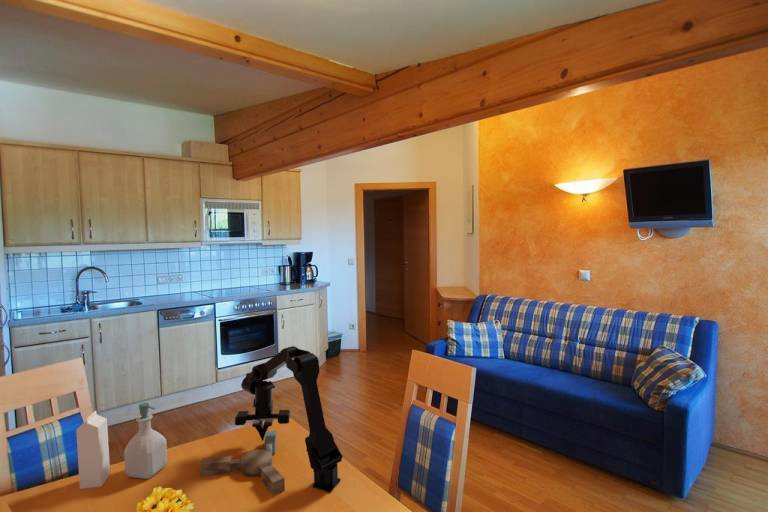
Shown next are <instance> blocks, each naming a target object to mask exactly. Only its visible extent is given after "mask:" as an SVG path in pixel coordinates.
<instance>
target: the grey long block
mask: <svg viewBox="0 0 768 512" xmlns="http://www.w3.org/2000/svg"><path fill="white" fill-rule="evenodd" d="M276 446H277V430H270V431H268V430H267V431H266V434H265V437H264V444H263V447H264V448H263V450H268V451H270V452H271V453H272V455H275V454H276V449H277V447H276Z"/></svg>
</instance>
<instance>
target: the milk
mask: <svg viewBox="0 0 768 512" xmlns="http://www.w3.org/2000/svg"><path fill="white" fill-rule="evenodd" d="M97 412H98V411H97V410H94V411H93V412H92V413H91V414H90V415H88V416H87V417H86V421H84V422H82V424H81V425H80V426H79V427H77V429H76V431H75V432H76V444H77V445H76V447H77V460H78V461H77V464H78V465H77V466H78V480H79V482H78V483H79V489H80V490H83V489H92V488H100V487H103V485H104V484H105V483H106V481H107V480H108V479H109V477H110V476H111V466H110V452H109V451H110V448H109V428H108V418H107V417H104V416H101V415H98V413H97Z"/></svg>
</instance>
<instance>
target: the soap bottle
mask: <svg viewBox="0 0 768 512" xmlns="http://www.w3.org/2000/svg"><path fill="white" fill-rule="evenodd" d="M149 404H150V403H149V402H142V403H140V404H138V408H139V413H140V414H139V415H138V417H136V418H135V421H136V422H138V432H137V433H136V434H135V435H134V436H133V437H132V438H130V440H129V441H128V444H127V445H126V446H125V449H124V451H123V452H124V453H123V454H124V472H125V475H126V476H127V477H129V478H135V479H143V480H148V479H151V478H152V477H153V476H154V475H155V474H157V473H158V472H160V471H161V470H162V469H163V468H165V466H166V465H167V463H168V451H167V450H168V447H167V445H168V443H167V439H166V437H165V436H164V435H162V433H161V432H159V431H157V430H155V429H152V424H151V421H152V419H153V417H154V416H153V414H151V413H149V409H151V410H153V411H154V410H155V409H156V408H154V407H153V406H150V405H149Z"/></svg>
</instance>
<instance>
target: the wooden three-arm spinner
mask: <svg viewBox="0 0 768 512" xmlns="http://www.w3.org/2000/svg"><path fill="white" fill-rule="evenodd" d="M199 467H200V477H209V476H218V475H219V476H220V475H228V474H231V473H238V472H240V473H241V474H242V476H245V477H248V478H256V477H259V478H260V479H261V483H262V484H263V485H264V486H265V488H267V489H268V491H269V492H270V493H271V494H272V495H273V496H276V495H278V494H281V493H282V492H285V488H286V486H285V484H286V483H285V481H286V479H285V477H284V476H283V474H281V473H280V472H279V471H278V469H276V467H274V466H273V454H272V453H271V452H270V451H268V450H264V449H262V448H261V449H255V450H250V451H248V452H246V453H245V454H243V455H241V457H240V458H233V455H227V456H225V455H224V456H223V455H222V456H216V457H215V456H214V457H204V458H202V460H201V463H200V465H199Z"/></svg>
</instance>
